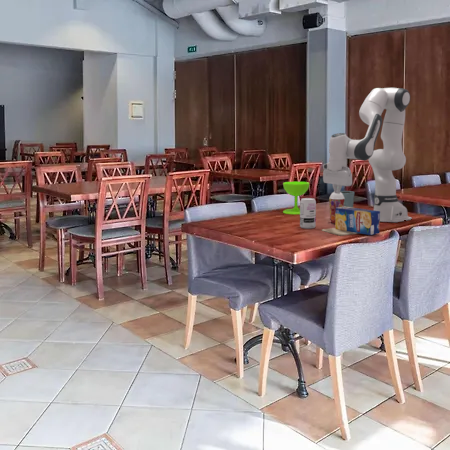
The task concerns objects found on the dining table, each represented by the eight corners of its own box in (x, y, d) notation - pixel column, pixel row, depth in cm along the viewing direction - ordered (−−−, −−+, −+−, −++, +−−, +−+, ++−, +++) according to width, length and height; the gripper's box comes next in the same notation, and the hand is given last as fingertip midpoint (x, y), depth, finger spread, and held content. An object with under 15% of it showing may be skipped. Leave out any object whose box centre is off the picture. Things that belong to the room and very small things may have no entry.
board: (347, 227, 294) (347, 226, 294) (366, 232, 280) (366, 231, 280) (321, 230, 287) (321, 229, 287) (339, 235, 274) (339, 234, 274)
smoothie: (342, 221, 313) (342, 185, 310) (345, 223, 305) (346, 186, 302) (327, 221, 313) (327, 185, 310) (330, 224, 305) (331, 187, 301)
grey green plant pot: (356, 210, 349) (356, 191, 347) (350, 213, 341) (350, 193, 338) (340, 209, 354) (340, 190, 352) (334, 211, 346) (334, 192, 344)
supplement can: (305, 225, 303) (305, 197, 300) (318, 226, 298) (318, 198, 295) (296, 227, 297) (297, 199, 294) (310, 229, 291) (310, 200, 289)
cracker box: (335, 229, 288) (370, 235, 271) (335, 207, 286) (371, 212, 269) (344, 227, 292) (379, 233, 275) (344, 206, 290) (380, 211, 273)
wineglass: (278, 211, 352) (278, 182, 349) (302, 209, 357) (302, 181, 353) (289, 215, 337) (289, 184, 334) (313, 213, 342) (314, 183, 338)
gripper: (355, 167, 275) (355, 195, 278) (331, 164, 294) (330, 191, 296) (345, 167, 273) (344, 196, 275) (321, 165, 291) (320, 191, 294)
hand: (337, 193), depth 286 cm, fingers closed
